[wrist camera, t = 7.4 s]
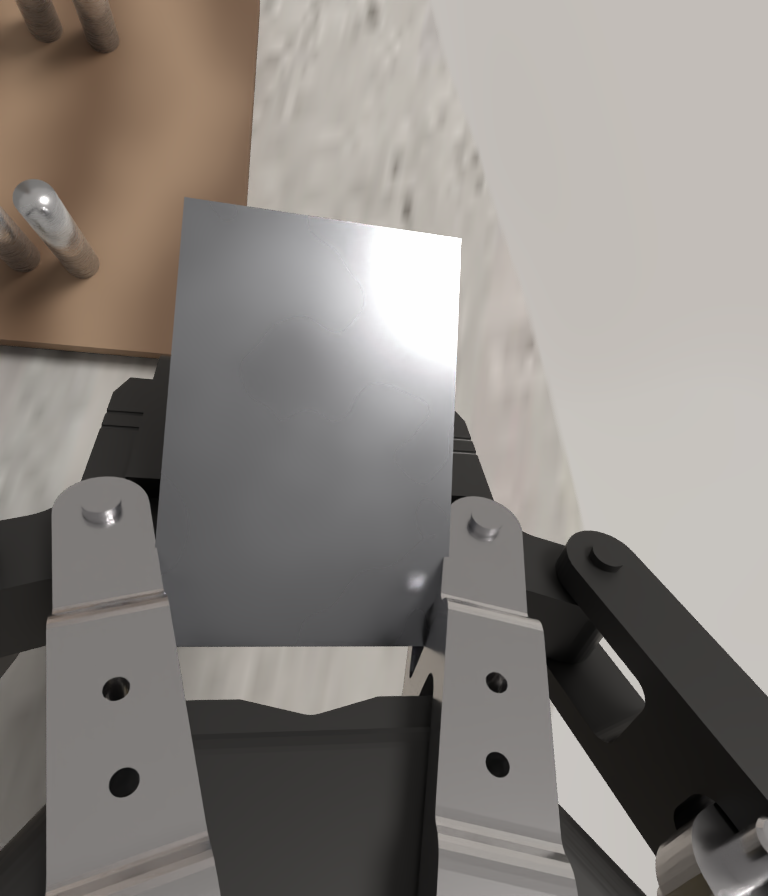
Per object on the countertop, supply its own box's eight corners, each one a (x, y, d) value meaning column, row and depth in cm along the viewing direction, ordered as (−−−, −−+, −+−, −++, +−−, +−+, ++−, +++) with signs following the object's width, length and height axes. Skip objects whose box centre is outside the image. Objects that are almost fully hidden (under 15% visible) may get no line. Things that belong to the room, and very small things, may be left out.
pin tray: (-152, 331, 26) (-302, 270, 19) (-103, -60, 28) (-224, -249, 21) (235, 365, 29) (230, 323, 22) (259, 13, 31) (261, -129, 24)
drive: (200, 565, 18) (146, 646, 8) (216, 357, 18) (184, 192, 8) (338, 568, 18) (445, 646, 9) (349, 370, 19) (461, 234, 9)
